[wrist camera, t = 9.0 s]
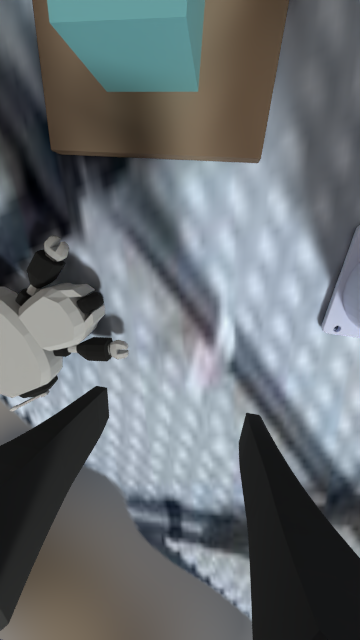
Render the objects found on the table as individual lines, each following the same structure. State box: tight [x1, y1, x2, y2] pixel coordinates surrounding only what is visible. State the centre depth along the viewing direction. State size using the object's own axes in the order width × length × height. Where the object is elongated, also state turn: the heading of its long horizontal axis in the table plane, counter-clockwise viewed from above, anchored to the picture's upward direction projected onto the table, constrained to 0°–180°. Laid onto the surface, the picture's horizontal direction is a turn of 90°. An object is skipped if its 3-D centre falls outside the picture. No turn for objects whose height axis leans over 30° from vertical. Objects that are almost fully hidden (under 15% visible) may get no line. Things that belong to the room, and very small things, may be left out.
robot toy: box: [0, 236, 129, 411], centre depth 20 cm, size 12×4×15 cm
